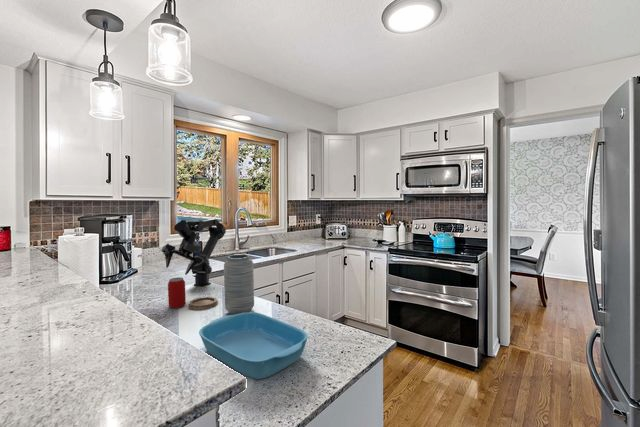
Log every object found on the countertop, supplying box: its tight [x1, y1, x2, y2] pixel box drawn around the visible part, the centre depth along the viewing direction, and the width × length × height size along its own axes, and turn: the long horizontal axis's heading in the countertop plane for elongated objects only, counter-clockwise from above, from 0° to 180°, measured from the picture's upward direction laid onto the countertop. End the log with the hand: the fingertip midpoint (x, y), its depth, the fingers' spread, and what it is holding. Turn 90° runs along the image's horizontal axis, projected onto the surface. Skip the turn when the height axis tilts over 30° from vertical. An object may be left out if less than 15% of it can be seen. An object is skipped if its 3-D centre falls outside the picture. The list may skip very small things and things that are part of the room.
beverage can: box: [167, 277, 187, 309], centre depth 133 cm, size 7×7×12 cm
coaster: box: [188, 296, 219, 311], centre depth 135 cm, size 12×12×2 cm
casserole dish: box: [198, 311, 308, 380], centre depth 93 cm, size 37×22×7 cm, turn 48°
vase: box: [223, 253, 255, 315], centre depth 126 cm, size 12×12×23 cm
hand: (176, 271), depth 144 cm, fingers open, 9 cm apart
